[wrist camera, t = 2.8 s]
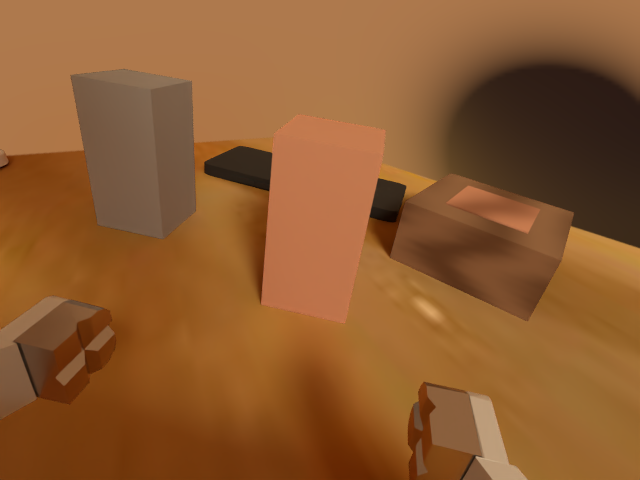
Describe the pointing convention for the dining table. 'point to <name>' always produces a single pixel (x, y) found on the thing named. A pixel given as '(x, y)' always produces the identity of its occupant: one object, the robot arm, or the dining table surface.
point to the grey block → (138, 149)
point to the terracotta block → (318, 213)
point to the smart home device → (256, 172)
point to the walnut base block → (483, 241)
